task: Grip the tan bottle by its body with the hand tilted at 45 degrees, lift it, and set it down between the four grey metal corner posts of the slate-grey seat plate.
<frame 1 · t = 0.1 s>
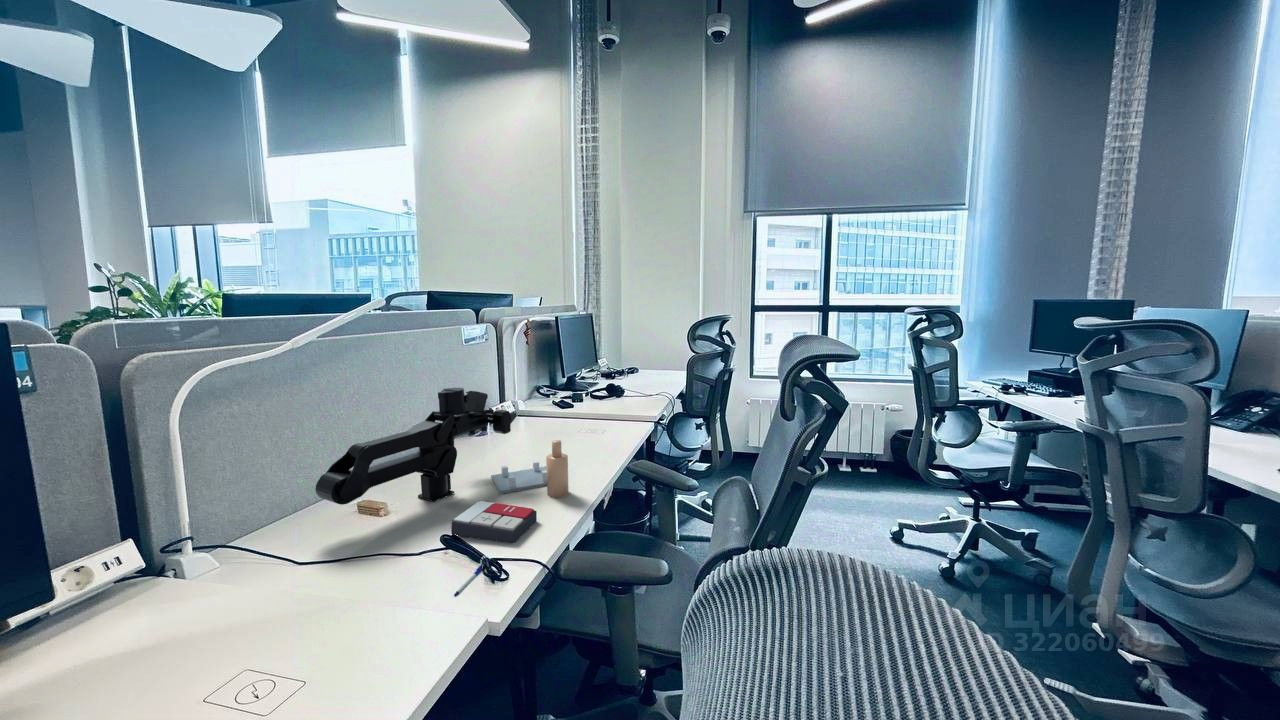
hand: (504, 412, 148), 17 cm above the table, tool horizontal, fingers open, 9 cm apart
tan bottle: (557, 493, 129), on the table
seat plate: (524, 480, 139), on the table
ballpoint pen: (471, 581, 90), on the table
calculator: (495, 530, 110), on the table
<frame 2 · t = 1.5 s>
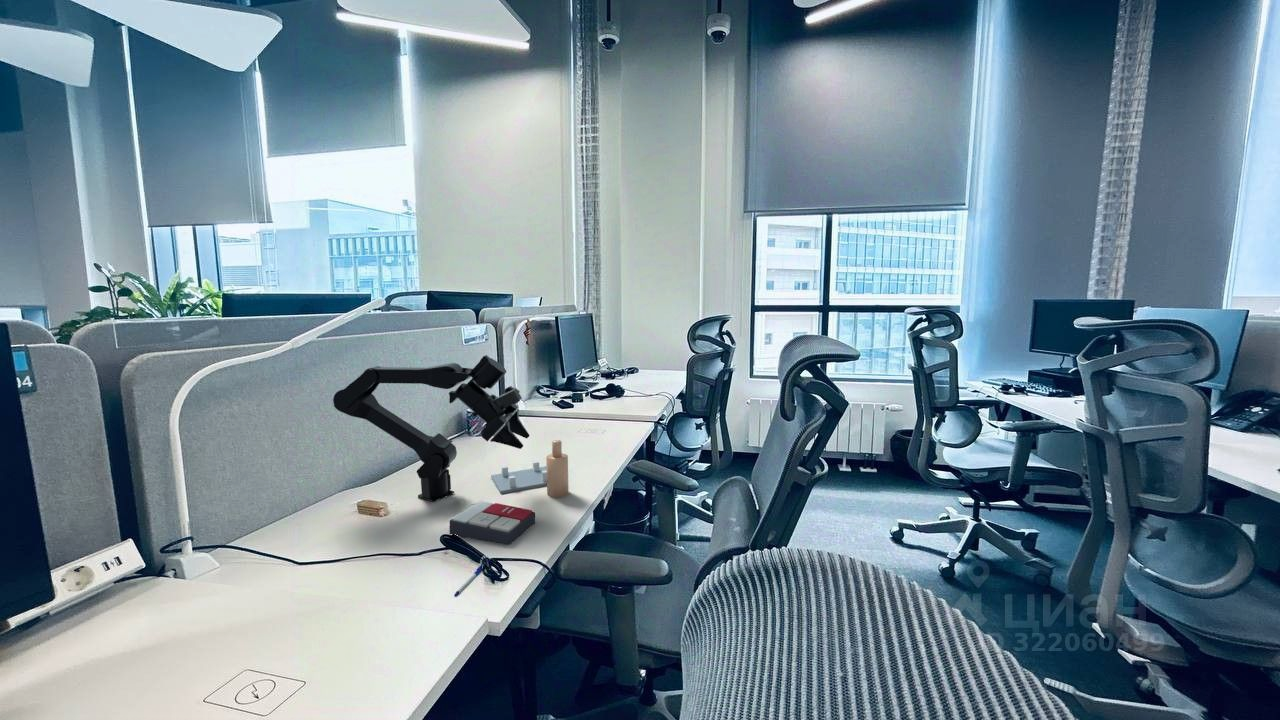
hand: (525, 442, 128), 14 cm above the table, tool tilted 45°, fingers open, 9 cm apart
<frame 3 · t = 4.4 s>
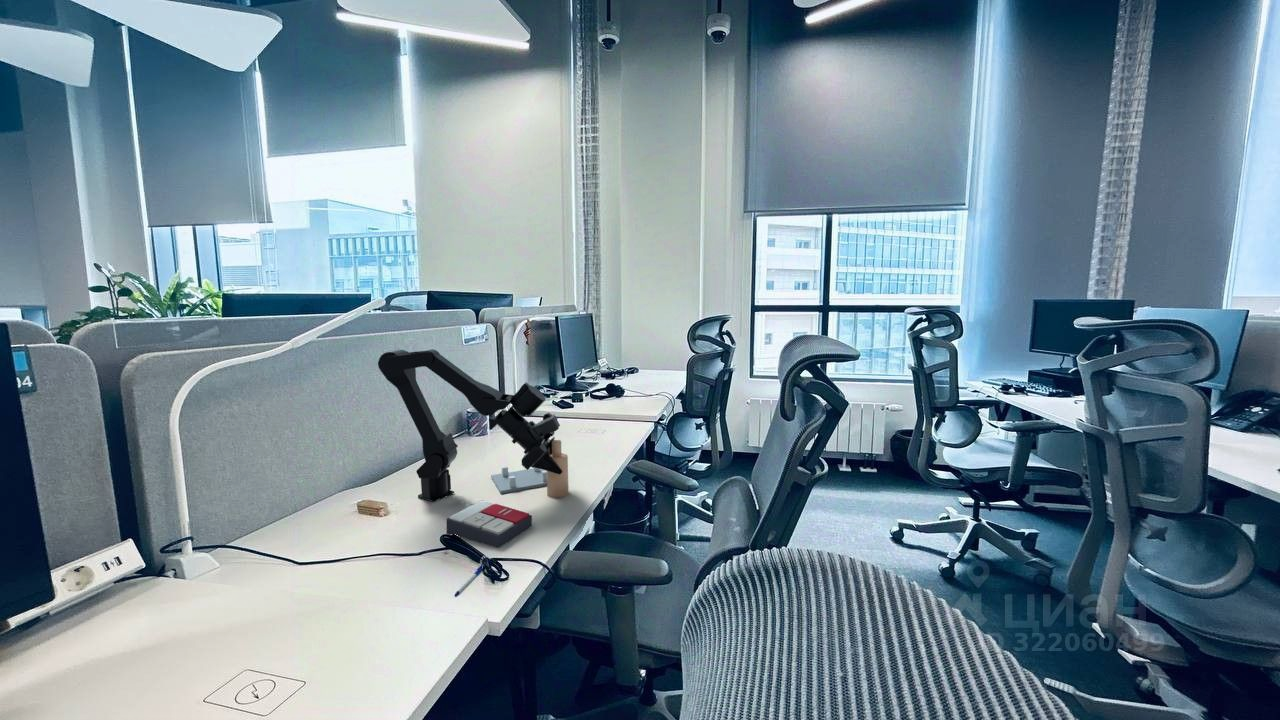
hand: (562, 469, 129), 7 cm above the table, tool tilted 45°, fingers closed on tan bottle, 5 cm apart
tan bottle: (558, 493, 129), on the table, touching gripper
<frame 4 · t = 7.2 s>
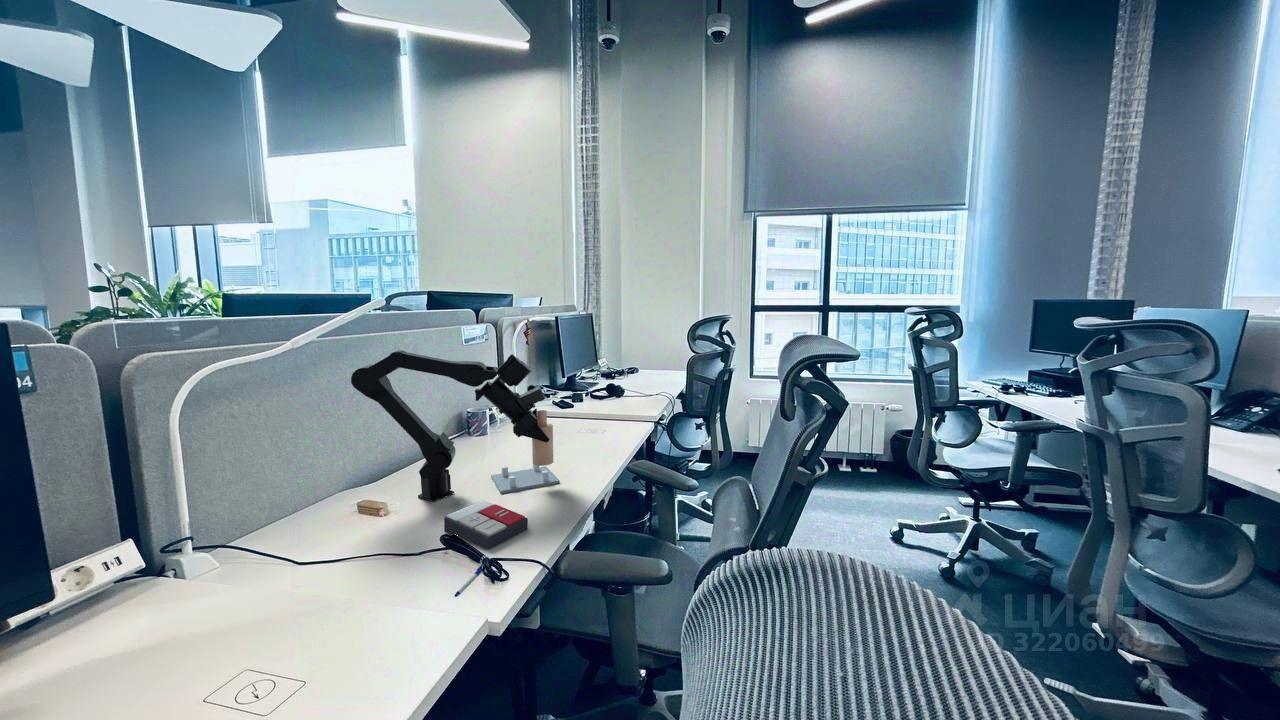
hand: (547, 438, 133), 13 cm above the table, tool tilted 45°, fingers closed on tan bottle, 5 cm apart
tan bottle: (543, 462, 133), point 7 cm above the table, touching gripper
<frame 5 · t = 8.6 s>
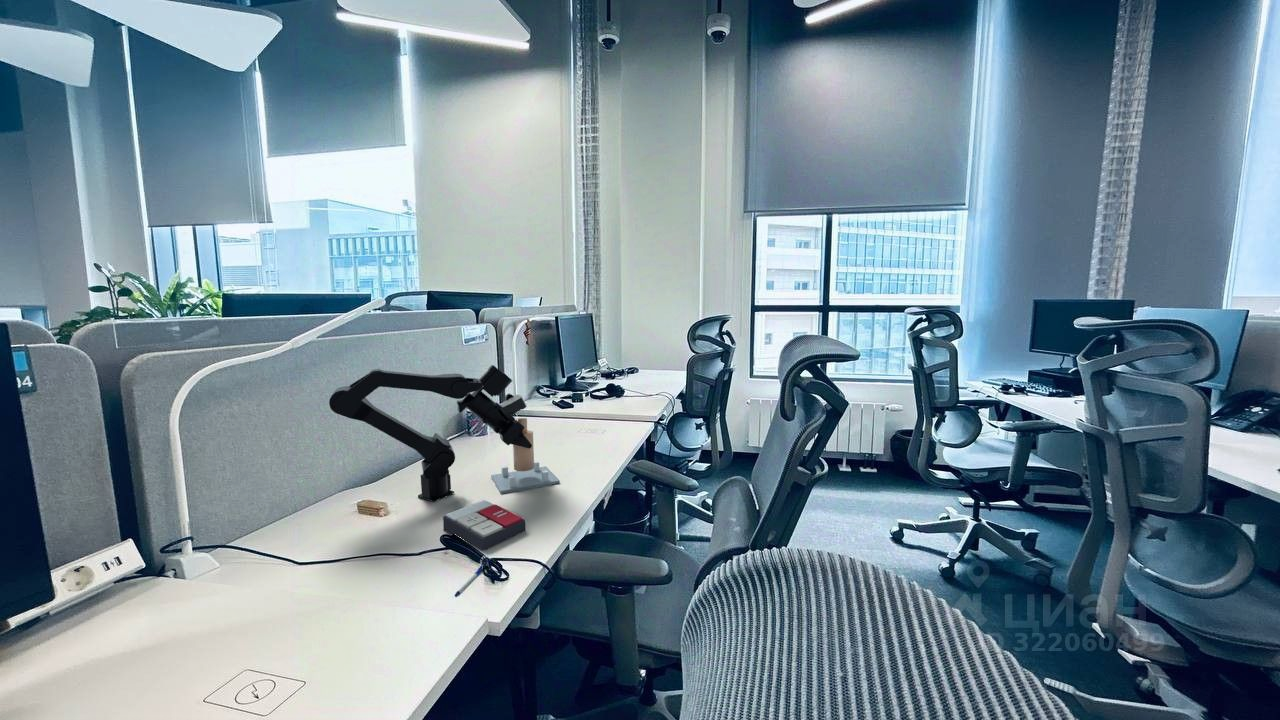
hand: (528, 444, 138), 10 cm above the table, tool tilted 45°, fingers closed on tan bottle, 5 cm apart
tan bottle: (524, 467, 138), point 4 cm above the table, touching gripper
when the fingers open (8 cm above the table, at t = 9.9 s): tan bottle stays where it is, resting on seat plate.
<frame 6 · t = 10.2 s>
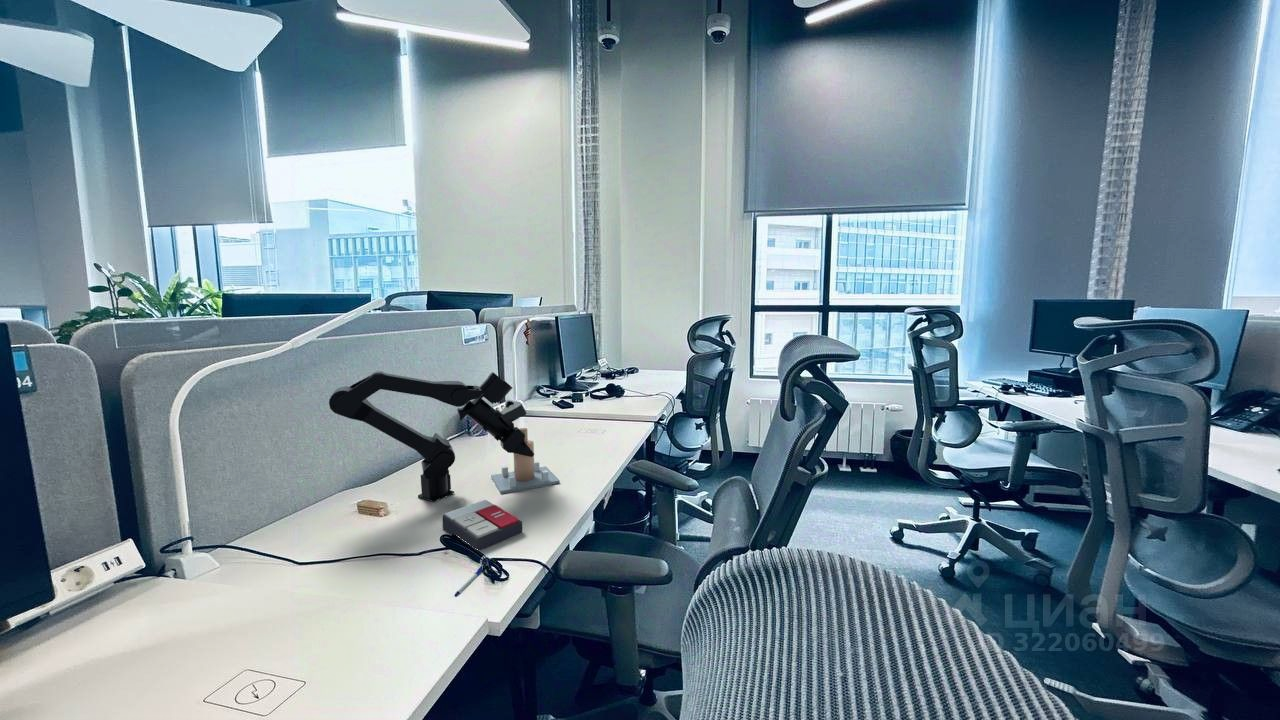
hand: (528, 450, 138), 8 cm above the table, tool tilted 45°, fingers open, 9 cm apart
tan bottle: (524, 477, 139), point 1 cm above the table, touching seat plate
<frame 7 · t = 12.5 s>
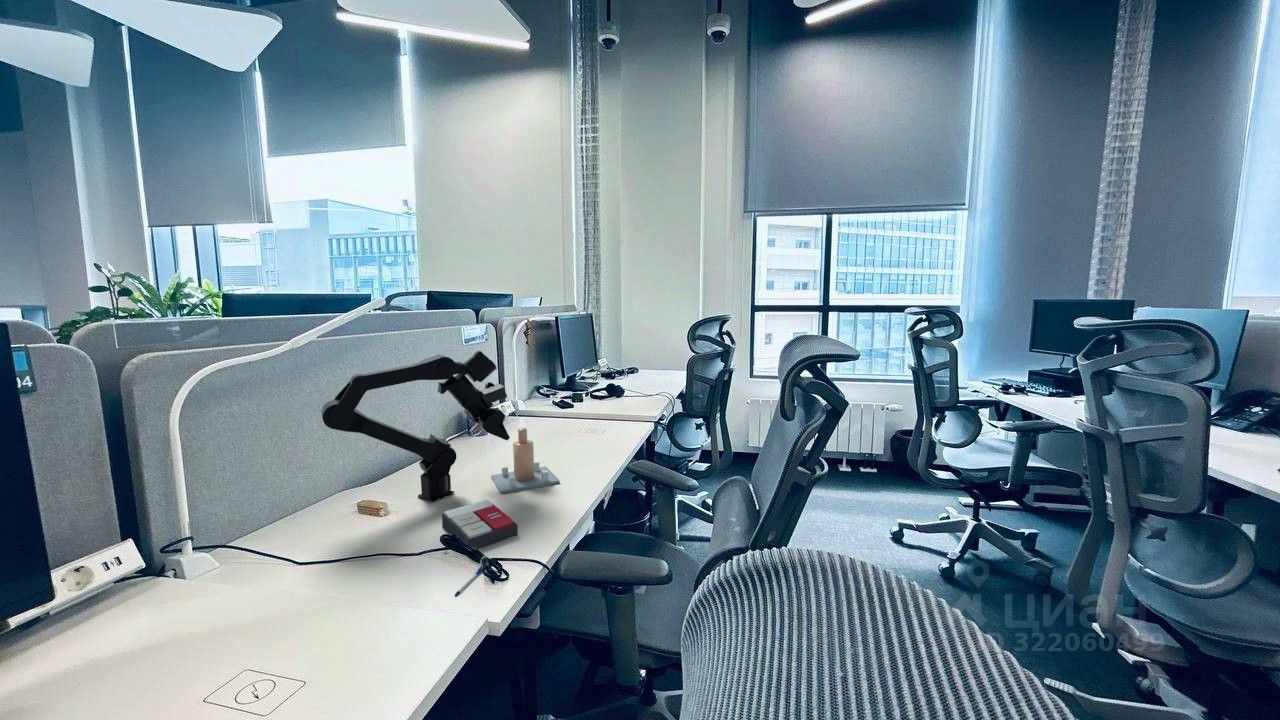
hand: (502, 434, 137), 13 cm above the table, tool tilted 35°, fingers open, 9 cm apart
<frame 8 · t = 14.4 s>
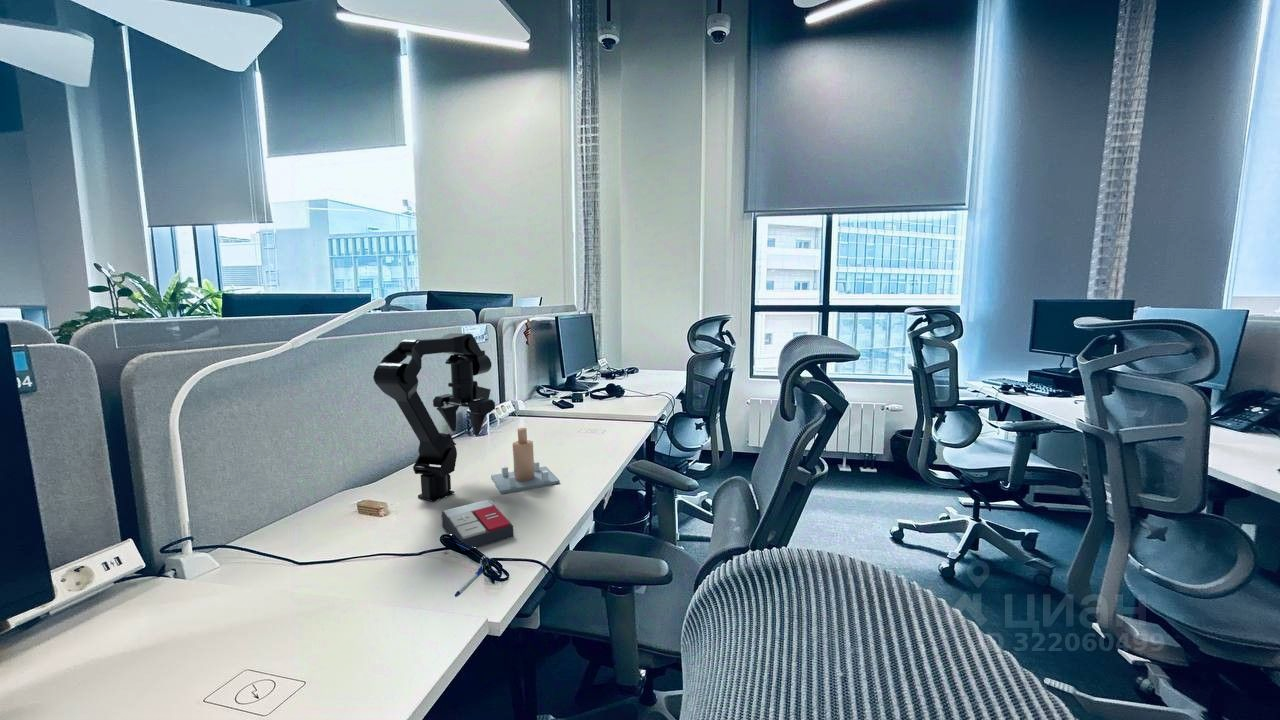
hand: (465, 433, 140), 13 cm above the table, tool pointing down, fingers open, 9 cm apart
at the end: tan bottle 0.1 cm off-centre on the seat plate, point 0.8 cm above the seat plate's base; tan bottle tilted 1°; the gripper is holding nothing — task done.
